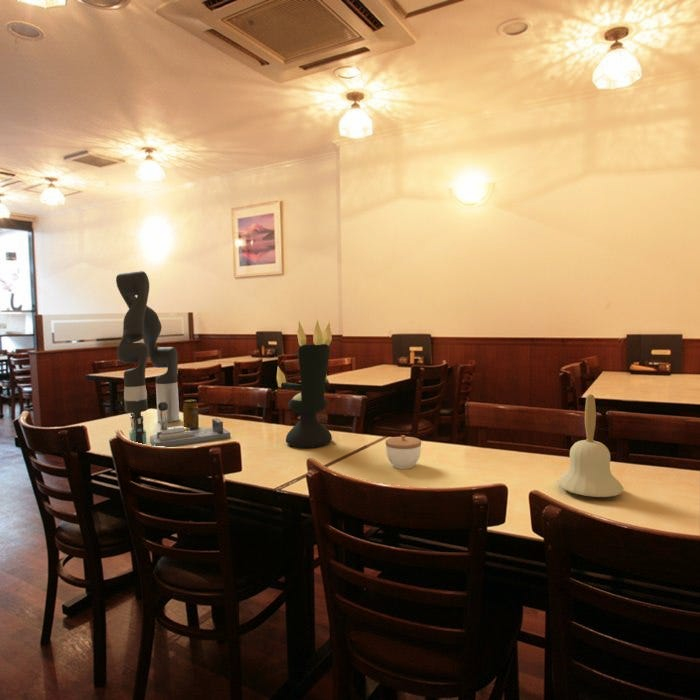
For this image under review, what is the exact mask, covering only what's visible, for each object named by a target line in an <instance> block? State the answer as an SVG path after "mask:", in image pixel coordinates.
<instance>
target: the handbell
mask: <svg viewBox="0 0 700 700" xmlns="http://www.w3.org/2000/svg"><path fill="white" fill-rule="evenodd" d="M596 412H597V409H596V398H595V396H594V395H593V394H592V393H590V394H587V395H586V398H585V406H584V428H585V434H586V439H583V440H582V439H581V440H578V441H576V442H574V444H573V445H572V446H571V447H570V450H569V466H568V469H567V470H566V471H565V472H563V473H562V474H561V475H560V476H558V478H557V479H556V483H557V485H558V486H559V487H560V488H561V489H562V490H564V491H567V492H570V493H573V494H577V495H580V496H585V497H586V496H587V497H594V498H609V497H616V496H619V495H620V494H622V493H623V491H624V489H625V487H624V486H623V485H622V484H621V482H620V481H619V480H618V479H617V478H616V477H615V476H614V475H613V473H612V472H611V452H610V451H609V448H608V447H607V445H605V444H603V442H600V441H596V440H595V439H594V437H595V431H596V421H597V417H596V416H597V413H596Z"/></svg>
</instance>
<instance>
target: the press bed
mask: <svg viewBox="0 0 700 700" xmlns="http://www.w3.org/2000/svg"><path fill="white" fill-rule="evenodd" d="M211 421H212V422H211V423H212V427H207V428H206V427H205V428H203V429H198V430H190V428H188V431H186V432H179V433H171V434H164V435H160V431H156V434H153V435H150V436H149V441H150V443H151V444H152V445H153V446H154V445H155V446H168V447H169V448H170V447H178V446H182V445H190V444H197V443H204V442H205V443H206V442H213V441H218V440H224V439H231V432H230V431H228V430H227V429H226V428H224V422H223V420H221V419H219V418H211ZM168 447H167V448H168Z"/></svg>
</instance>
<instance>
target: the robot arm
mask: <svg viewBox="0 0 700 700" xmlns="http://www.w3.org/2000/svg"><path fill="white" fill-rule="evenodd" d="M115 281H116V282H115V283H116V287H117V289H118V291H119V293H120V295H121V298H122V299H123V301H124V302H125V304H126V306H127V308H128V310H127V311H126V313H125V315H124V319H123V326H122V328H123V329H122V330H123V331H122V336H121V340H120V341H119V344H118V347H117V348H116V357H117V358H116V359H118V361H119V362H121V363H124V364H126V363H128V364H129V363H138V365H137V366H136V367H133V368H129V369H126V370H124V372H123V384H124V389H123V398H124V399H123V401H124V411H125V413H127V414H128V413H129V414H130V427H131V430H135V436H136V442H138V443H142V444H143V436H142V435H143V434H144V431H143V429H144V416H143V415H142V414H141V413H142V412H147V410H148V393H147V392H148V391H147V388H146V385H147V384H146V367H147V362H148V359H149V361H150V363H151V365H152V366H153V367H154V368H157V369H158V368H163V369H165V368H167V369H166V372H165V373H163V374H161V375H158V376H156V377H155V390H156V393H155V394H156V414H157V422H158V423H160V410H159V409H158V404H159V403H160V402H163V401H164V402H166V403H167V404H168V409H167V423H171V422H173V423H174V422H176V421H180V408H179V407H180V406H179V405H180V404H179V403H180V402H179V388H178V385H179V384H178V374H179V373H178V371H179V370H178V359H179V358H178V351H177V349H176V348H175V347H173V346H166V347H165V346H162V347H161V346H158V344H157V340H158V338H159V336H160V335H161V333H162V323H161V321H160V318H159V315H158V314H157V313H156V311H155V310H153V308H152V307H150V306H148V305H147V304H148V299H149V295H150V294H149V293H150V280H149V277H148V275H147V273H146V271H143V270H136V271H127V272H121V273H118V274H117V275H116V277H115ZM141 340H143V342H140V341H141ZM138 429H140V430H141V431H137V430H138Z"/></svg>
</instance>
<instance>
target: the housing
mask: <svg viewBox="0 0 700 700" xmlns="http://www.w3.org/2000/svg"><path fill="white" fill-rule="evenodd" d="M137 431H141V430H140V429H138V430H137ZM143 431H144V434H143V435H142V436H143V444H147V431H146V430H145V428H143ZM128 432H129V436H128V437H129V441H130V440H131V441H134V442H136V436H135V430H132V429H131V430H129V431H128Z"/></svg>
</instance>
